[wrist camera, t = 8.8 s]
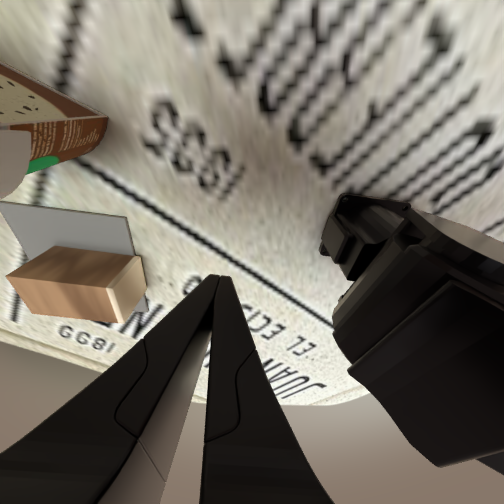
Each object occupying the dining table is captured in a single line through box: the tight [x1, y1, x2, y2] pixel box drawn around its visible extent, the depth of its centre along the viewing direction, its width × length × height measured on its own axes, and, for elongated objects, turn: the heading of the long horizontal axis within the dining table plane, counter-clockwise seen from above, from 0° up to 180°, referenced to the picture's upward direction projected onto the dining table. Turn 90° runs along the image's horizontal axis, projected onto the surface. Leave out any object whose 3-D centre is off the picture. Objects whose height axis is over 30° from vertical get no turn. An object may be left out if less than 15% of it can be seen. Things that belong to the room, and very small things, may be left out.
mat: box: [0, 201, 149, 313], centre depth 23 cm, size 12×14×1 cm
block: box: [6, 246, 147, 324], centre depth 21 cm, size 5×5×9 cm
